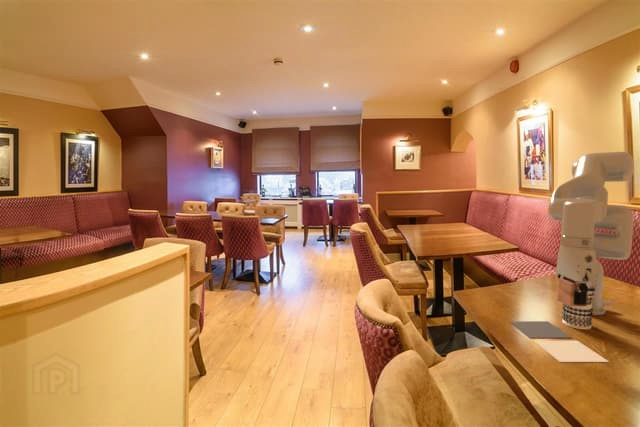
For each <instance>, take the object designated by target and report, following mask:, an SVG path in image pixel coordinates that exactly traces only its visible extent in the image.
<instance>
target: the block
mask: <svg viewBox="0 0 640 427" xmlns="http://www.w3.org/2000/svg"><path fill="white" fill-rule="evenodd" d="M580 285H581V286H583V283H580ZM575 291H576V284H575V281H573V280H571V279H569V278H558V290H557V292H558V293H557V301H559V302H560V303H562V304H563V303H564V304H566V305H568V306H587V299H588V292H587V299H586V305H575V304H574V292H575Z"/></svg>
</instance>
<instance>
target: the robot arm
mask: <svg viewBox="0 0 640 427" xmlns="http://www.w3.org/2000/svg"><path fill="white" fill-rule="evenodd" d="M634 166H635V164H634V159H633V156H632V155H631V154H630V153H629V152H626V151H611V152H610V151H608V152H607V151H606V152H591V153H587V154H585V155H582V156H581V157H580V158H579V159H578V161H575V162H574V163H573V164H572V166H571V174H572V179H569V180H567V181H565V182H564V183H561V184H560V185H559V186H557V187H556V188H555V189H554V190H553V192H552V194H551V196H550V200H549V202H548V207H547V213H548V214H547V215H548V216H549V218H550V219H551V220H553V221H555V222H561V233H560V245H559V247H558V248H559V249H558V252H557V258H556V267H555V269H554V272H555V273H556V275H557V278H558V279H559V278H569V279H571V280H573V281H575V284H576V291H575V292H574V304H575V305H586V299H587V292H589V290H590V289H592V288H594V289H595V291H593V292H592V293H593V294H594V297H592V308H593V311H592V313H593V314H592V316H603V315H605V314H606V312H607V311H606V309H605V307H606V306H607V307H612V306H614V302H613V301H611V300H605V299H602V293H603V280H604V268H603V265H602V264H601V263H600V262H599V260H598V258H601V259H610V260H619V261H620V260H621V261H623V260H625V261H626V260H627V259H629V258H630V256H631V253H632V246H633V235H634V234H633V233H634V212H633V209H631V208H630V206H629V207H628V206H625V205H615V204H614V205H611V204H610V205H609V203H608V200H609V192H608V189H607V188H605V187H606V186H605V184H606V182H610V183H611V182H615V183H619V182H621V183H622V182H627V181H630V180H631V178H632V177H633V175H634V170H635V167H634ZM595 230H606V231H607V230H608V231H613V232H615V233H605V232H595ZM596 275H597V277H596ZM582 279H583V281H582ZM580 283H583V286H581V285H580Z"/></svg>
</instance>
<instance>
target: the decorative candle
mask: <svg viewBox="0 0 640 427" xmlns="http://www.w3.org/2000/svg"><path fill="white" fill-rule="evenodd" d="M596 277H597V275H596ZM582 281H583V279H582ZM593 291H595V289H594V288H592V289H590V290H589V292H588V299H587V306H568V305H566V304H564V303H562V305H563V307H562V310H563V311H562V312H561V314H562V315H561V319H562V321H561V322H562V324H563V325H565V326H568V327H570V328H573V329H578V330H591V329H592V326H593V322H592V321H593V319H594V318H593V315H592V314H593V313H592V311H593V308H592V297H594V294H593V293H592V292H593Z"/></svg>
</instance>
